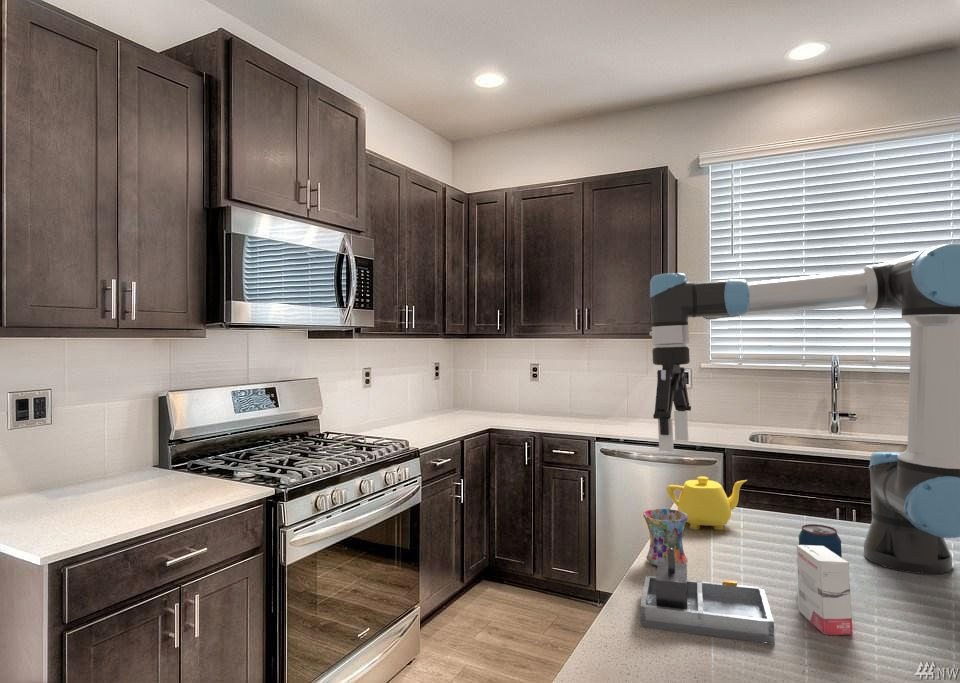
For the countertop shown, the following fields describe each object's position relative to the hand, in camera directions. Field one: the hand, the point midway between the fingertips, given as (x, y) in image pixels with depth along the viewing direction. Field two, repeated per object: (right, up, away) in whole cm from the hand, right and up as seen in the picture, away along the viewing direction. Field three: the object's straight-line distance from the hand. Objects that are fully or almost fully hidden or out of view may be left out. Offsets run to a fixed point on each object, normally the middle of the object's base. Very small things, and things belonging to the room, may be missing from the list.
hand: (674, 445), depth 123 cm
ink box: (+16, -25, -26) cm, 40 cm away
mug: (0, -26, +3) cm, 27 cm away
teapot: (+18, -26, +28) cm, 42 cm away
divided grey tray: (-2, -26, -22) cm, 34 cm away
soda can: (+23, -25, -15) cm, 37 cm away
